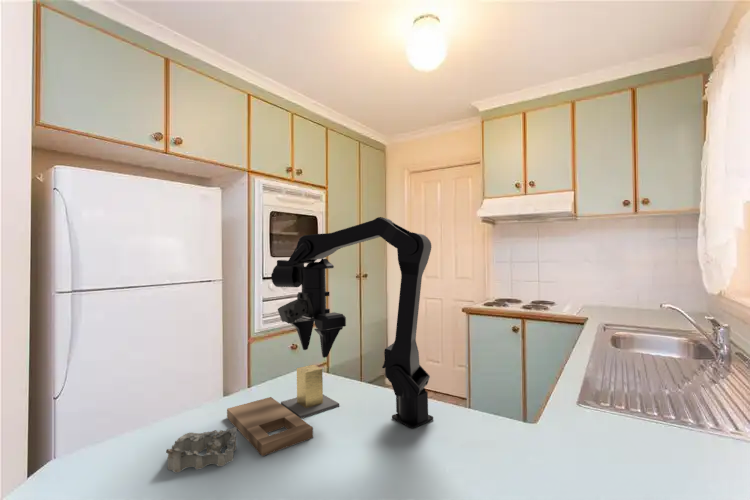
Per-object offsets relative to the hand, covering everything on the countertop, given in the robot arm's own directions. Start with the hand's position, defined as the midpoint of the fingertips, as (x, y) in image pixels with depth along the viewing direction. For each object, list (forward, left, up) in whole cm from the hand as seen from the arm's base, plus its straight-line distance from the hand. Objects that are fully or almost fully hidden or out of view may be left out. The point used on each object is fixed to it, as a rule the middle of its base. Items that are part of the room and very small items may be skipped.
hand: (314, 353), depth 86 cm
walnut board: (-4, +14, -12) cm, 18 cm away
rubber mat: (0, +2, -12) cm, 12 cm away
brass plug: (0, +2, -11) cm, 11 cm away
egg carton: (-8, +27, -12) cm, 30 cm away
